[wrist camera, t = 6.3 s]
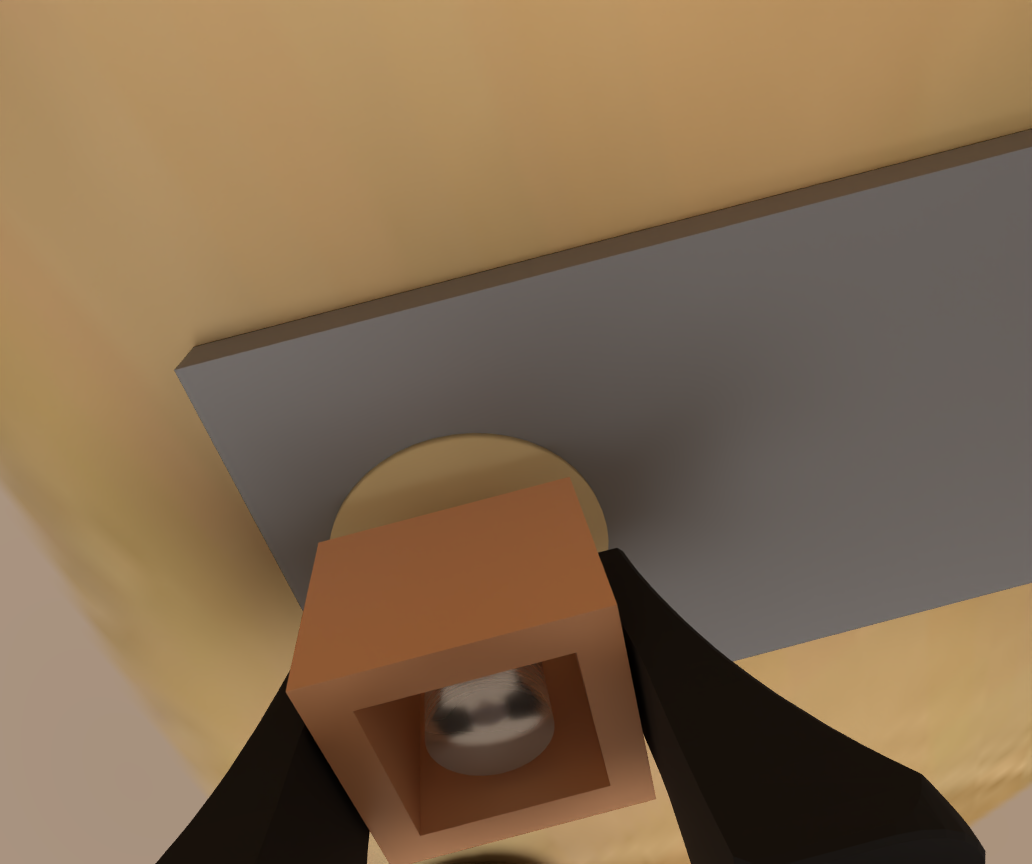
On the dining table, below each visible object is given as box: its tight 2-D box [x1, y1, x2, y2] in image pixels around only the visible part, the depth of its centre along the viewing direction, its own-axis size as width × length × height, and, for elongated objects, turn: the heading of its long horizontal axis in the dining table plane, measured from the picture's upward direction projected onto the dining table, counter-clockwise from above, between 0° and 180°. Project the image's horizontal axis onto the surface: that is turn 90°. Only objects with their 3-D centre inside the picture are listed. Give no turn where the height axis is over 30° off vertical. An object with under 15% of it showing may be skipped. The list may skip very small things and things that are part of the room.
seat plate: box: [174, 129, 1032, 661], centre depth 16 cm, size 19×12×2 cm, turn 103°
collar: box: [286, 477, 656, 864], centre depth 12 cm, size 5×5×4 cm
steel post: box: [425, 662, 555, 776], centre depth 14 cm, size 2×2×6 cm
